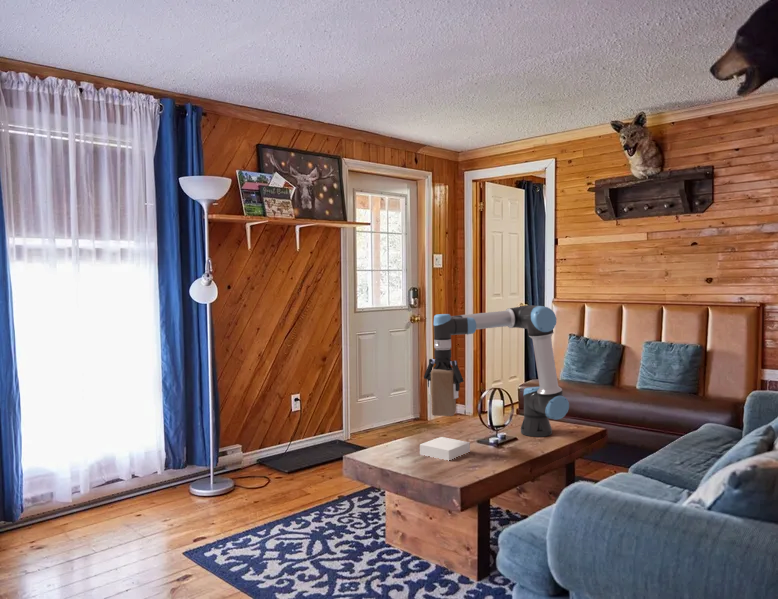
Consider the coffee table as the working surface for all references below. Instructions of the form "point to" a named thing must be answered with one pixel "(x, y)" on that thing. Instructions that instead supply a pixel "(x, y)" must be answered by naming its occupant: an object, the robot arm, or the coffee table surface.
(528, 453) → the coffee table surface
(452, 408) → the block
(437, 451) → the base block
